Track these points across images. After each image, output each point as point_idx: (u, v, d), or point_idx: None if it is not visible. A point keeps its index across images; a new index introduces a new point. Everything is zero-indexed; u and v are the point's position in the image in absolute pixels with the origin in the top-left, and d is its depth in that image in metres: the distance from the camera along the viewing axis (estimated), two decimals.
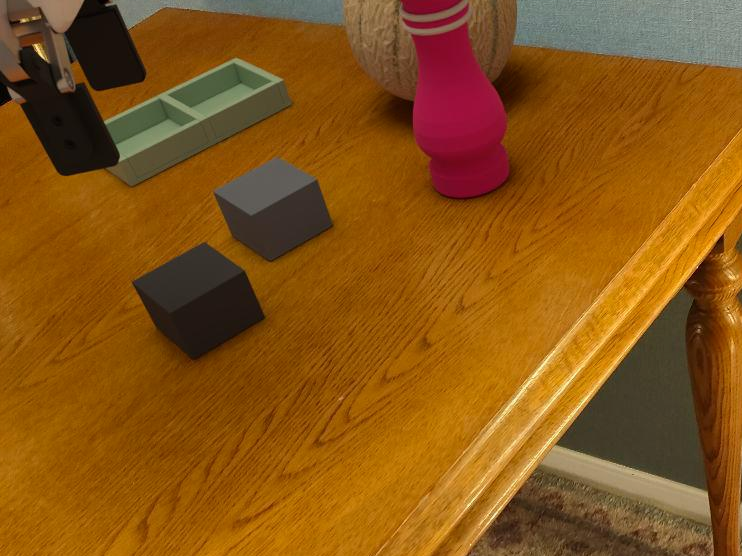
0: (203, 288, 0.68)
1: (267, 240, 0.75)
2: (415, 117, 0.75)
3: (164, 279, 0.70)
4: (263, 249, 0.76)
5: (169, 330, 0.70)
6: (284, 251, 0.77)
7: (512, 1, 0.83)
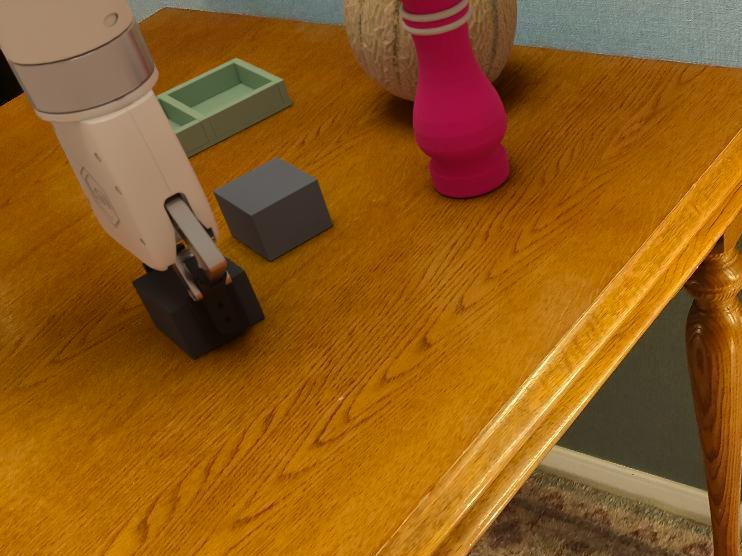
0: None
1: (267, 240, 0.75)
2: (415, 117, 0.75)
3: (164, 279, 0.70)
4: (263, 249, 0.76)
5: (169, 330, 0.70)
6: (284, 251, 0.77)
7: (512, 1, 0.83)
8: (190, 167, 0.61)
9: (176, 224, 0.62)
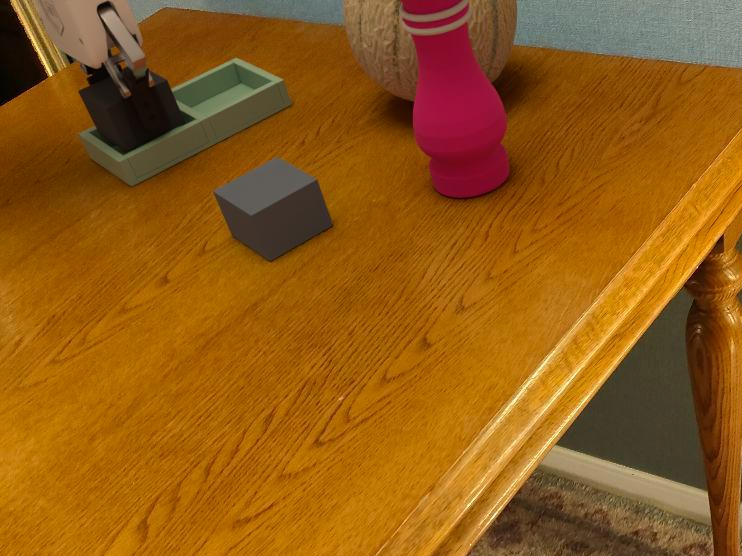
0: None
1: (267, 240, 0.75)
2: (415, 117, 0.75)
3: (103, 88, 0.88)
4: (263, 249, 0.76)
5: (108, 129, 0.88)
6: (284, 251, 0.77)
7: (512, 1, 0.83)
8: None
9: (106, 27, 0.80)
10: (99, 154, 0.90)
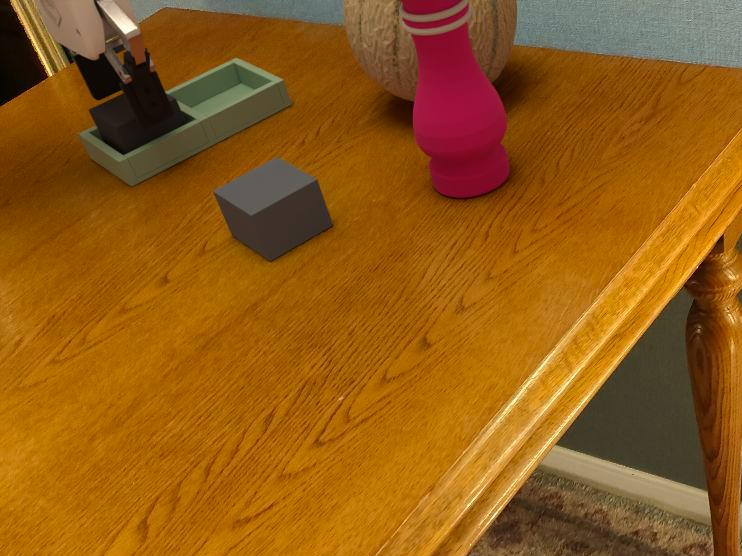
0: None
1: (267, 240, 0.75)
2: (415, 117, 0.75)
3: (113, 106, 0.89)
4: (263, 249, 0.76)
5: (117, 147, 0.89)
6: (284, 251, 0.77)
7: (512, 1, 0.83)
8: None
9: (104, 18, 0.79)
10: (99, 154, 0.90)
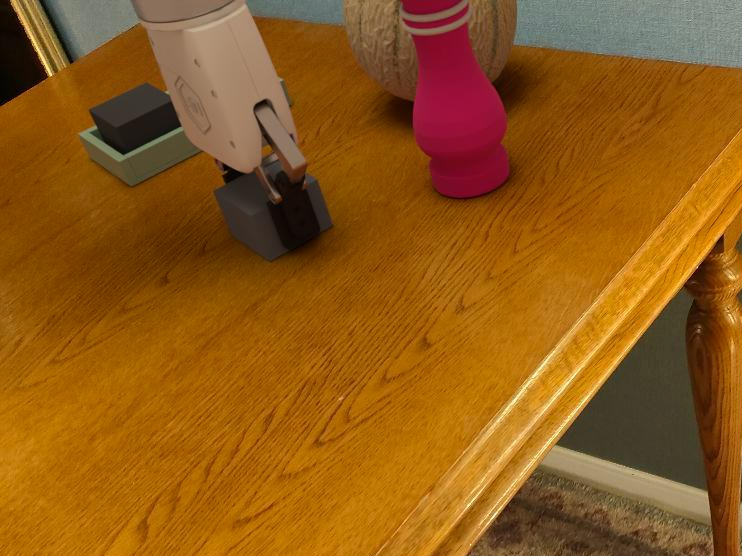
0: (143, 110, 0.88)
1: (267, 240, 0.75)
2: (415, 117, 0.75)
3: (113, 106, 0.89)
4: (263, 249, 0.76)
5: (117, 147, 0.89)
6: (284, 251, 0.77)
7: (512, 1, 0.83)
8: (276, 76, 0.68)
9: (263, 128, 0.68)
10: (99, 154, 0.90)
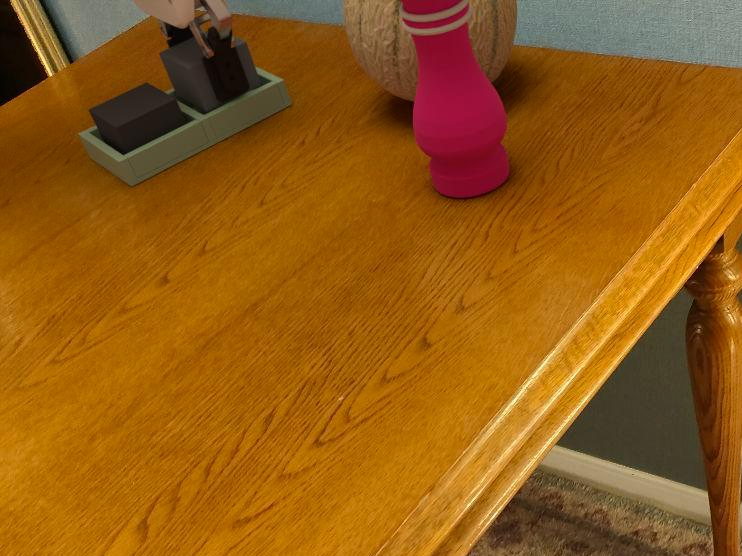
0: (143, 110, 0.88)
1: (203, 92, 0.90)
2: (415, 117, 0.75)
3: (113, 106, 0.89)
4: (200, 100, 0.90)
5: (117, 147, 0.89)
6: (219, 104, 0.91)
7: (512, 1, 0.83)
8: None
9: None
10: (99, 154, 0.90)
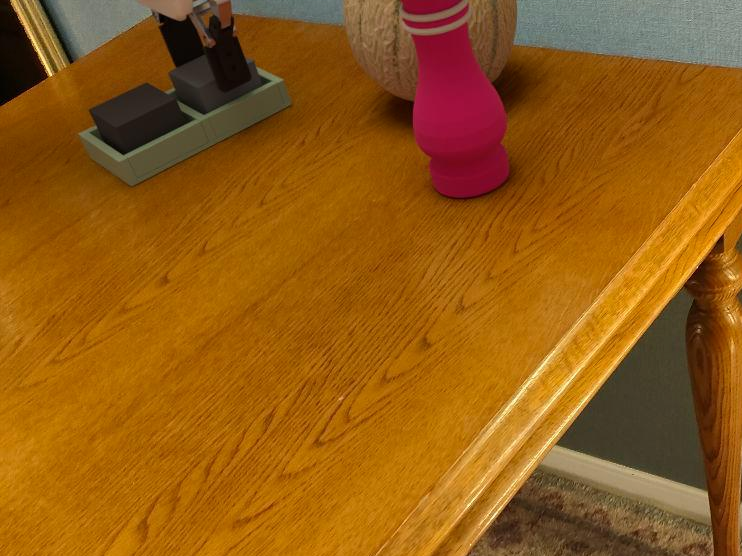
0: (143, 110, 0.88)
1: (212, 110, 0.91)
2: (415, 117, 0.75)
3: (113, 106, 0.89)
4: None
5: (117, 147, 0.89)
6: None
7: (512, 1, 0.83)
8: None
9: None
10: (99, 154, 0.90)
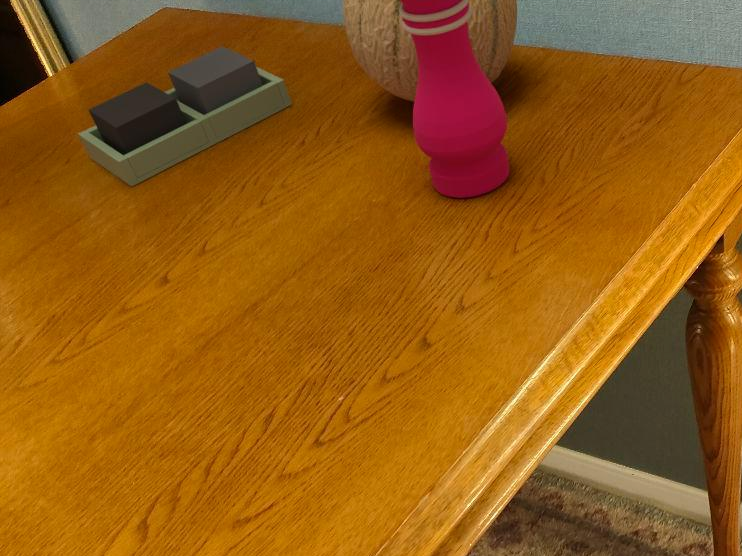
0: (143, 110, 0.88)
1: (212, 110, 0.91)
2: (415, 117, 0.75)
3: (113, 106, 0.89)
4: None
5: (117, 147, 0.89)
6: None
7: (512, 1, 0.83)
8: None
9: None
10: (99, 154, 0.90)
